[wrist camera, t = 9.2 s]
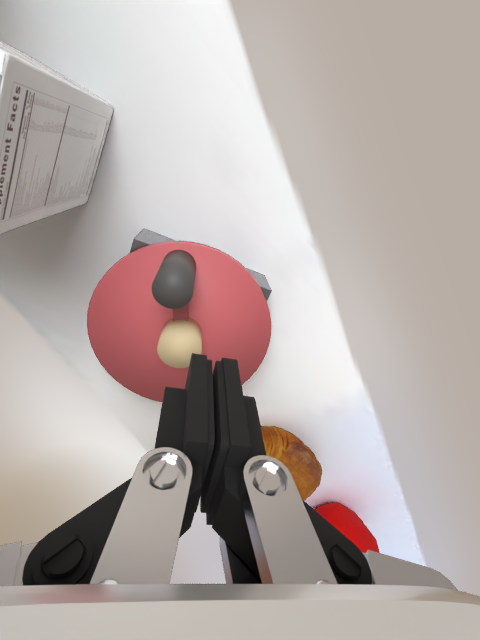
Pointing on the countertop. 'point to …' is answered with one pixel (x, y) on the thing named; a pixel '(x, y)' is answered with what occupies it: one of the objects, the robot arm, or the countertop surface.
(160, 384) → the handwheel
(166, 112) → the countertop surface
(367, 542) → the tomato
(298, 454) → the croissant
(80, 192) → the supplement box
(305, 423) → the countertop surface
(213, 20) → the countertop surface
